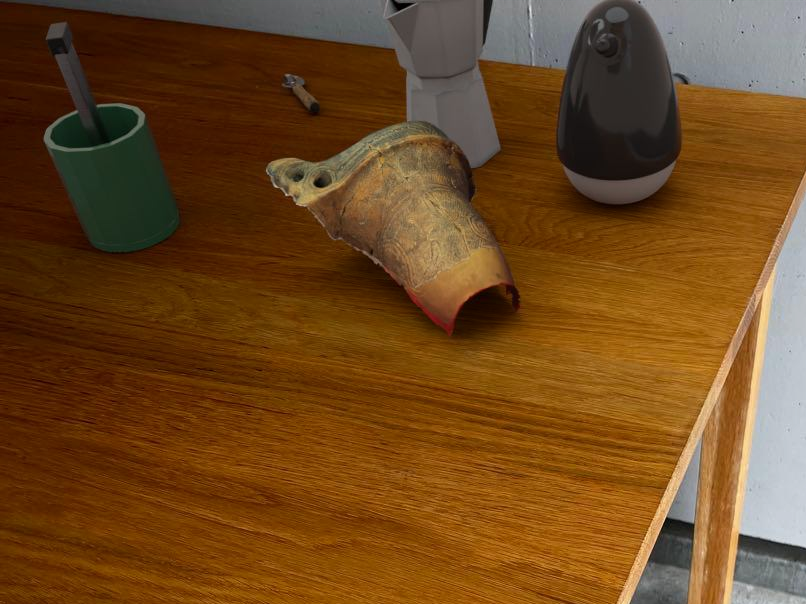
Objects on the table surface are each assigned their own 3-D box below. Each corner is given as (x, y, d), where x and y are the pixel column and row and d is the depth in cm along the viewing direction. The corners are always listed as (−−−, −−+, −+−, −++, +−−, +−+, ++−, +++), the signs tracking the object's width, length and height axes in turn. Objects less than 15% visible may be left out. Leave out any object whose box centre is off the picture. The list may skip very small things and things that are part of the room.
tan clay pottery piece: (396, 272, 66) (274, 88, 72) (352, 391, 75) (246, 217, 81) (597, 248, 77) (476, 88, 83) (539, 355, 85) (433, 202, 91)
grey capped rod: (122, 229, 88) (45, 39, 77) (126, 211, 90) (50, 24, 79) (137, 226, 88) (62, 37, 77) (140, 209, 90) (67, 21, 79)
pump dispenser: (544, 216, 86) (530, 26, 75) (575, 154, 93) (567, -30, 82) (667, 227, 84) (671, 33, 73) (690, 162, 91) (697, -26, 79)
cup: (83, 260, 87) (37, 158, 80) (93, 210, 92) (51, 111, 86) (178, 245, 87) (140, 142, 81) (183, 196, 93) (148, 97, 86)
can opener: (322, 112, 101) (319, 101, 101) (298, 118, 101) (295, 106, 100) (300, 76, 107) (297, 65, 106) (278, 82, 107) (275, 70, 106)
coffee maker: (453, 192, 90) (421, -33, 77) (373, 171, 93) (328, -48, 80) (544, 116, 98) (529, -99, 85) (467, 99, 102) (441, -111, 88)
